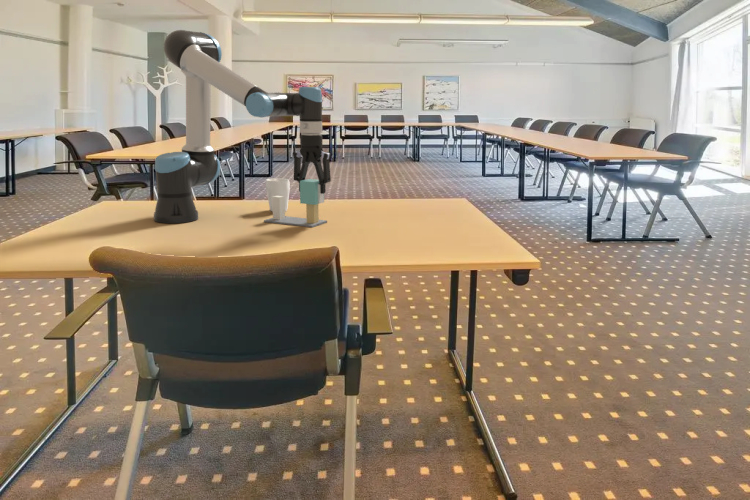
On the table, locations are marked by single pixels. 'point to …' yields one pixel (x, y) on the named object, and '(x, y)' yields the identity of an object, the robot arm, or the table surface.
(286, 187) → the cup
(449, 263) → the table surface
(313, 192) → the teal cube block
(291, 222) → the post board
